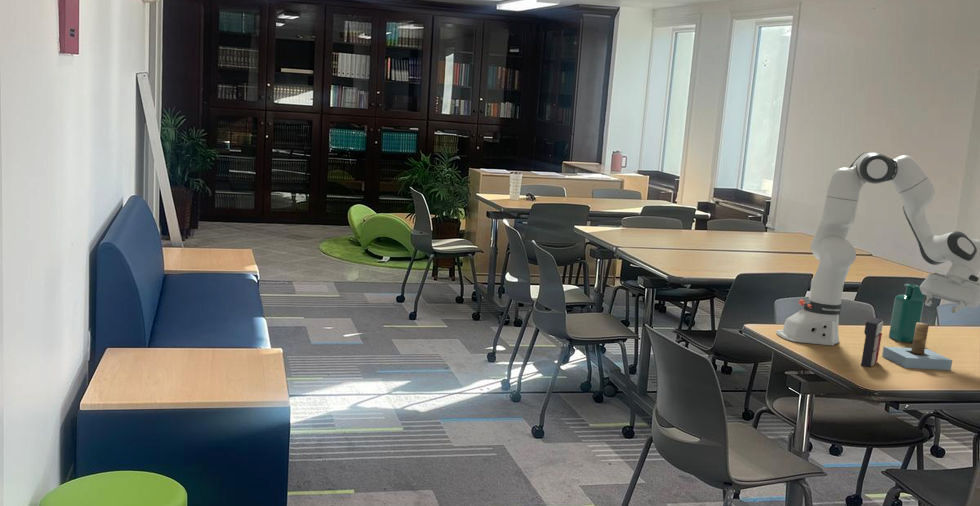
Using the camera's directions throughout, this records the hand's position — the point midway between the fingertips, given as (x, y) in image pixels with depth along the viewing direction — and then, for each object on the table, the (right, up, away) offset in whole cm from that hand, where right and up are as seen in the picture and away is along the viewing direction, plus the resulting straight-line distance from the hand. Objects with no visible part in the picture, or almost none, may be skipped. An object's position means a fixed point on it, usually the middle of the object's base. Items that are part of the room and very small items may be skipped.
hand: (940, 308), depth 322 cm
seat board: (-10, -19, -2) cm, 21 cm away
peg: (-10, -19, -2) cm, 21 cm away
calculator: (-29, -18, -9) cm, 35 cm away
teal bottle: (+2, -14, +32) cm, 35 cm away
